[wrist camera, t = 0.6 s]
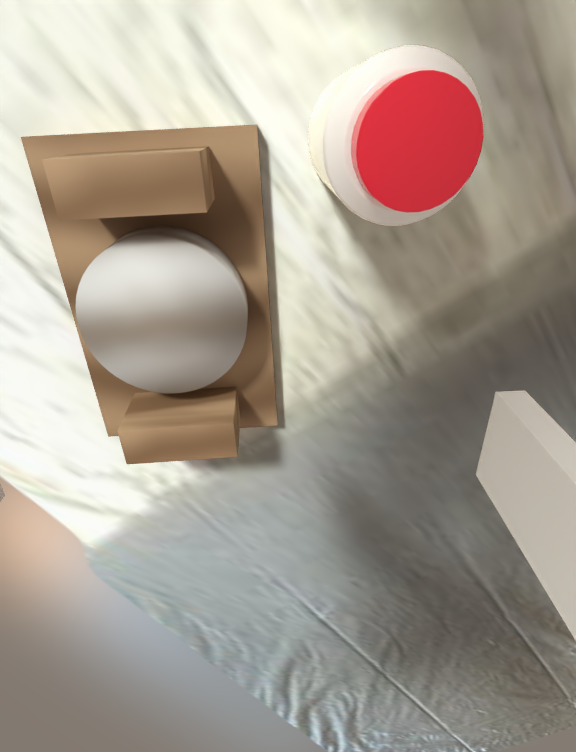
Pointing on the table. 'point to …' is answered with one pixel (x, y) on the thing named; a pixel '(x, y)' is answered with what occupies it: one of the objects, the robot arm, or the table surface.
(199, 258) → the cardboard packaging tray
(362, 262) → the table surface
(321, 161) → the pill bottle
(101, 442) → the table surface
